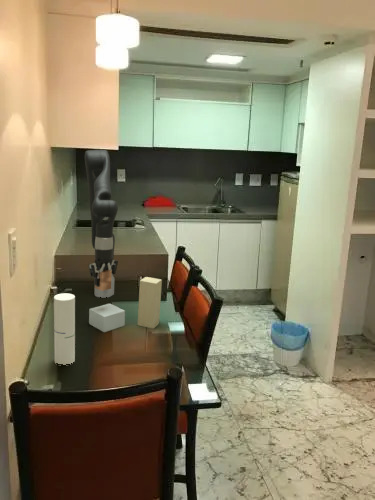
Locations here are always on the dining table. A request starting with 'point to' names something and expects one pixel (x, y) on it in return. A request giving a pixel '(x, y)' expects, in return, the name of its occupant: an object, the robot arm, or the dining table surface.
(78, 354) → the dining table surface
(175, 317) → the dining table surface
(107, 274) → the terracotta block
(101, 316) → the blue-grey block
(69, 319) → the cylindrical container
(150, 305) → the tall beige block
